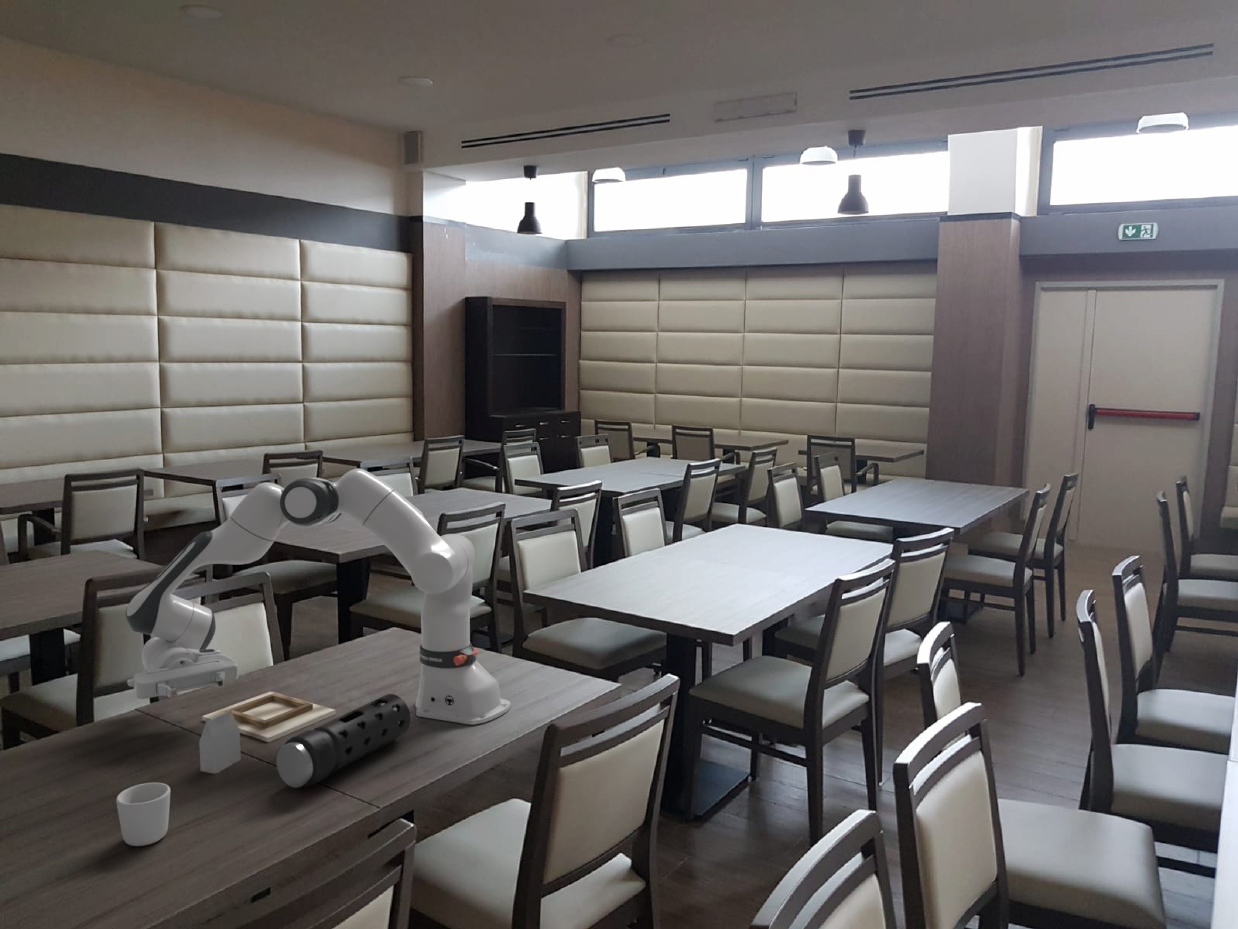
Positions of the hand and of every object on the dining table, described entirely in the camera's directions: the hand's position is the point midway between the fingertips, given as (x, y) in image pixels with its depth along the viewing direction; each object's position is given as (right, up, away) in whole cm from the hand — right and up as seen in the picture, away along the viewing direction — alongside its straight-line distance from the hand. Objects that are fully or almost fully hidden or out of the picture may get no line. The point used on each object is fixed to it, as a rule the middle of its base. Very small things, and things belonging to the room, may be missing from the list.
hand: (197, 688), depth 187 cm
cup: (+8, -16, -34) cm, 38 cm away
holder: (+9, -11, +16) cm, 21 cm away
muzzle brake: (+33, -14, -7) cm, 36 cm away
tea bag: (+8, -14, -8) cm, 18 cm away
